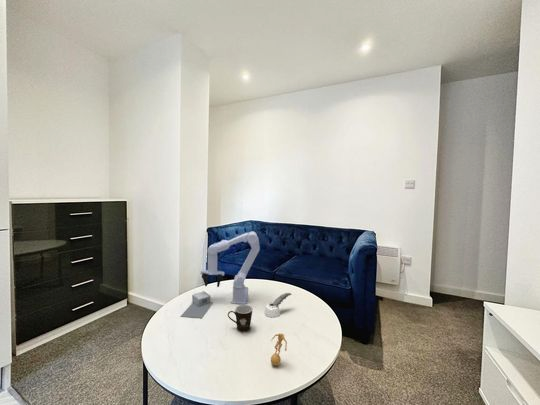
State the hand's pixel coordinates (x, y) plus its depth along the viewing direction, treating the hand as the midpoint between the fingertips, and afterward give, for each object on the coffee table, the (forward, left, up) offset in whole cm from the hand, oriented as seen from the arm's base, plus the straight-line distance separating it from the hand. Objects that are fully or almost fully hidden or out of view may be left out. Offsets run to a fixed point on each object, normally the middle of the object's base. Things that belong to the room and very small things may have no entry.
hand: (212, 286), depth 146 cm
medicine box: (+2, +6, -7) cm, 9 cm away
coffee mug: (-24, +25, -10) cm, 36 cm away
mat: (+4, +11, -9) cm, 15 cm away
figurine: (-44, +47, -10) cm, 65 cm away
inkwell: (-42, +6, -10) cm, 43 cm away
